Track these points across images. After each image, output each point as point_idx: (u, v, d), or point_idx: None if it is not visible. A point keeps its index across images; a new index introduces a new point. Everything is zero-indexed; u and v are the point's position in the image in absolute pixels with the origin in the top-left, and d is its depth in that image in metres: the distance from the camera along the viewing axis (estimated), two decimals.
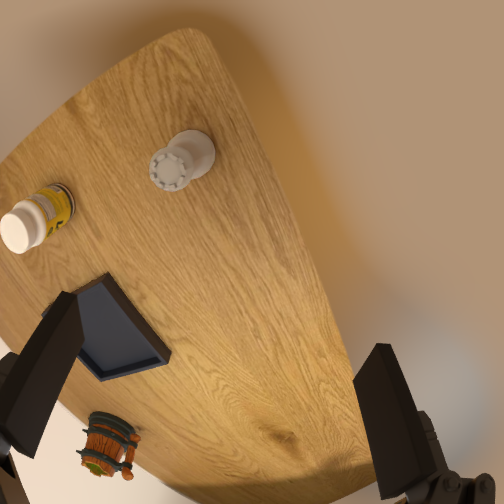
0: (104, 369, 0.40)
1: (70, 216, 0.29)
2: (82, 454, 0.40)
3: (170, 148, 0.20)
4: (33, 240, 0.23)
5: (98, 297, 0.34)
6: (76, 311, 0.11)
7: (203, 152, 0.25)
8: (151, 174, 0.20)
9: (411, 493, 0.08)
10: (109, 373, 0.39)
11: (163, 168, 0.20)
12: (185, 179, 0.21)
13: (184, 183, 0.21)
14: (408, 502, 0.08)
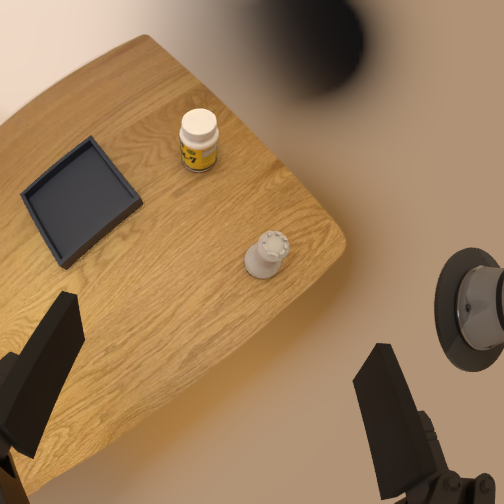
0: (31, 199, 0.36)
1: (192, 169, 0.40)
2: None
3: (288, 243, 0.32)
4: (193, 138, 0.33)
5: (116, 194, 0.38)
6: (76, 311, 0.11)
7: (273, 268, 0.36)
8: (271, 232, 0.31)
9: (411, 493, 0.08)
10: (30, 204, 0.35)
11: (276, 240, 0.32)
12: (271, 257, 0.31)
13: (267, 256, 0.31)
14: (408, 502, 0.08)
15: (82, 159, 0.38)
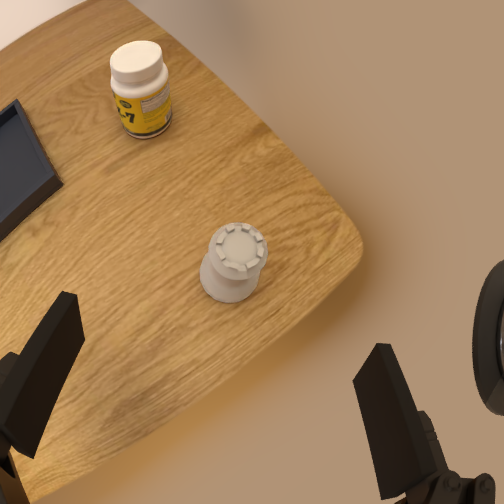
0: None
1: (133, 133, 0.25)
2: None
3: (265, 246, 0.17)
4: (123, 79, 0.19)
5: (32, 172, 0.23)
6: (76, 311, 0.11)
7: (243, 287, 0.21)
8: (233, 225, 0.17)
9: (411, 493, 0.08)
10: None
11: (242, 241, 0.17)
12: (231, 271, 0.17)
13: (225, 271, 0.17)
14: (408, 502, 0.08)
15: (5, 129, 0.24)
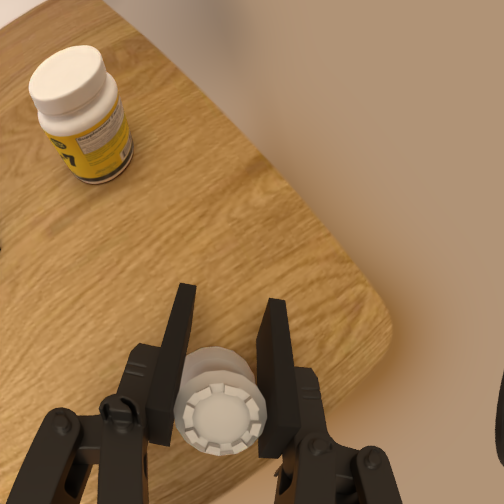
0: None
1: (81, 178, 0.18)
2: None
3: (263, 407, 0.10)
4: (46, 111, 0.11)
5: None
6: (194, 301, 0.14)
7: None
8: (209, 390, 0.09)
9: (285, 453, 0.09)
10: None
11: (226, 410, 0.09)
12: None
13: (201, 448, 0.09)
14: (285, 471, 0.09)
15: None
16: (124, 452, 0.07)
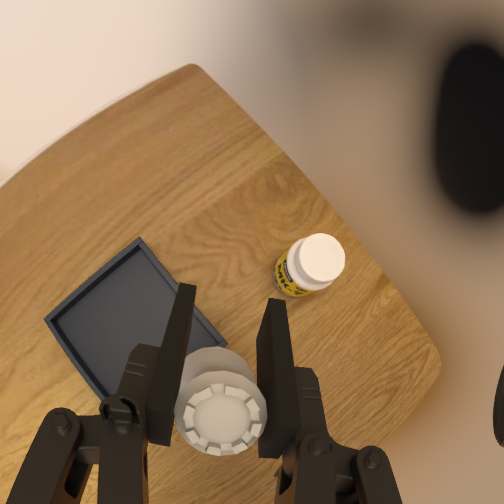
0: (61, 323, 0.27)
1: (289, 295, 0.31)
2: None
3: (264, 407, 0.10)
4: (314, 282, 0.25)
5: None
6: (194, 301, 0.14)
7: None
8: (209, 391, 0.09)
9: (285, 453, 0.09)
10: (61, 334, 0.26)
11: (226, 410, 0.09)
12: None
13: (201, 448, 0.09)
14: (285, 471, 0.09)
15: (129, 270, 0.30)
16: (124, 452, 0.07)
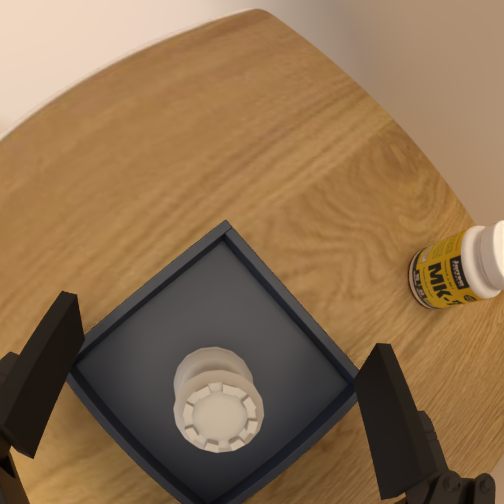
0: (84, 368, 0.16)
1: (432, 306, 0.20)
2: None
3: (260, 406, 0.10)
4: (501, 288, 0.14)
5: (308, 371, 0.18)
6: (76, 311, 0.11)
7: None
8: (207, 389, 0.10)
9: (411, 493, 0.08)
10: (87, 388, 0.15)
11: (224, 408, 0.10)
12: None
13: (200, 445, 0.10)
14: (408, 502, 0.08)
15: (204, 276, 0.19)
16: None
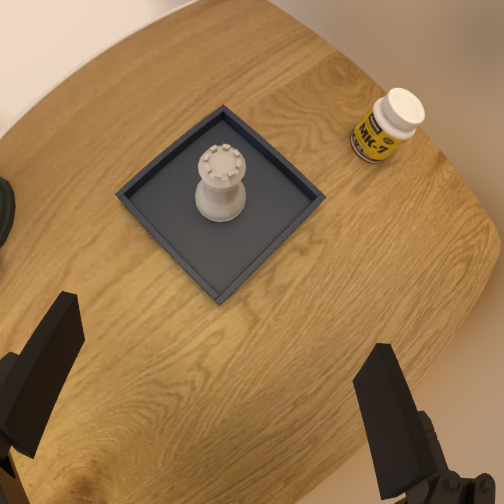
0: (134, 201, 0.27)
1: (370, 159, 0.30)
2: None
3: (243, 161, 0.21)
4: (403, 126, 0.24)
5: (282, 191, 0.29)
6: (76, 311, 0.11)
7: (231, 204, 0.25)
8: (215, 146, 0.20)
9: (411, 493, 0.08)
10: None
11: (224, 157, 0.20)
12: (217, 181, 0.20)
13: (212, 181, 0.20)
14: (408, 502, 0.08)
15: (212, 138, 0.29)
16: None
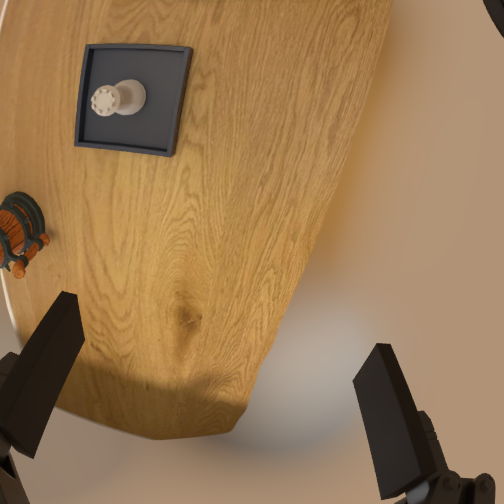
0: (87, 137, 0.34)
1: None
2: None
3: (113, 88, 0.26)
4: None
5: (162, 61, 0.30)
6: (76, 311, 0.11)
7: (134, 101, 0.30)
8: (93, 97, 0.25)
9: (411, 493, 0.08)
10: (91, 142, 0.34)
11: (102, 97, 0.25)
12: (108, 112, 0.26)
13: (106, 114, 0.27)
14: (408, 502, 0.08)
15: (98, 66, 0.30)
16: None
